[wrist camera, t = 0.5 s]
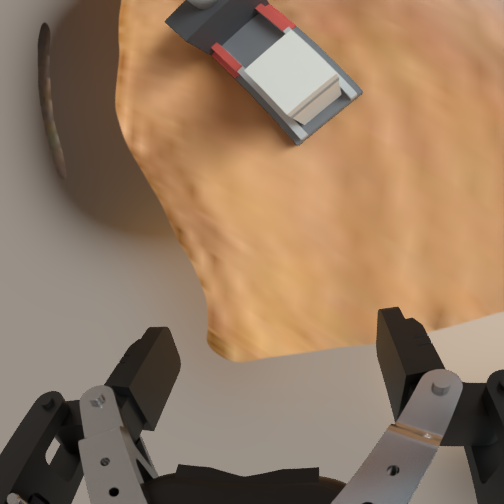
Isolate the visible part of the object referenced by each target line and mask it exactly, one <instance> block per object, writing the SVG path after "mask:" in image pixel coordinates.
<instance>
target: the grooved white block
mask: <svg viewBox="0 0 504 504" xmlns="http://www.w3.org/2000/svg"><path fill="white" fill-rule="evenodd" d="M244 71H245V72H246V73H247V74H248V75H249V76H250V77H251V78H252V79H253V80H254V81H255V82H256V83H257V84H258V85H259V86H260V87H261V88H262V89H263V90H264V91H265V92H266V93H267V94H268V95H269V96H270V97H271V99H272V100H273V101H274V102H275V103H276V104H277V105H278V106H279V107H280V108H281V109H282V110H283V111H284V112H285V113H286V115H288V116H289V117H290V118H292V119H295V120H297V121H298V122H300V123H302V124H303V125H305V124H307V123H308V122H309V121H310V120H311V119H313V118H314V117H315V116H316V115H317V114H319V113H320V112H321V111H322V110H324V109H325V108H326V107H327V106H328V105H330V104H331V103H332V102H333V101H335V100H336V99H337V98H338V97H339V96H341V95H342V94H341V89H340V85H339V77H338V75H337V73H336V72H335V71H334V70H333V69H332V68H331V67H330V66H329V65H328V64H327V63H326V62H325V61H324V60H323V59H322V58H321V57H320V56H319V55H318V54H317V53H316V52H315V51H314V50H313V49H312V48H311V47H310V46H309V45H308V44H306V43H305V42H304V41H303V40H302V39H301V38H300V37H299V36H298V35H297V34H295V33H294V32H293V31H292V30H290V31H289V32H288V33H286V34H285V35H284V36H283V37H282V38H280V39H279V40H278V41H277V42H276V43H274V44H273V45H272V46H271V47H270V48H269V49H267V50H266V51H265V52H264V53H263V54H262V55H260V56H259V57H258V58H257V59H256V60H255V61H254V62H253V63H251V64H250V65H249V66H248V67H247V68H246V69H245V70H244Z"/></svg>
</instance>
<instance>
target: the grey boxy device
mask: <svg viewBox="0 0 504 504" xmlns="http://www.w3.org/2000/svg"><path fill="white" fill-rule="evenodd" d="M165 23H166V24H167V25H169V26H170V27H171V28H172V29H173V30H174V31H175V32H176V33H178V34H179V35H180V36H181V37H182V38H183V39H184V40H185V41H186V42H188V43H190V44H192V45H194V46H196V47H197V48H199V49H201V50H203V51H204V52H206V53H208V54H210V55H211V56H212V57H213V58H214V59H215V60H216V61H217V62H219V63H220V64H221V65H222V66H223V67H224V68H225V69H226V70H227V71H228V72H229V73H230V74H231V75H232V76H233V77H234V78H235V79H236V80H237V81H238V82H239V83H240V84H241V85H242V86H243V87H244V88H245V89H246V90H247V91H248V92H249V93H250V94H251V95H252V96H253V97H254V98H255V99H256V101H257V102H258V103H259V104H260V105H261V106H262V107H263V108H264V109H265V110H266V111H267V112H268V113H269V114H270V116H271V117H272V118H273V119H274V120H275V121H276V122H277V123H278V124H279V125H280V127H281V128H282V129H283V130H284V131H285V132H286V133H287V134H288V135H289V137H290V138H291V139H292V140H293V141H294V142H295V143H296V145H300V144H302V143H303V142H304V141H305V140H306V139H308V138H309V137H310V136H311V135H312V134H313V133H315V132H316V131H317V130H318V129H320V128H321V127H322V126H323V125H324V124H326V123H327V122H328V121H329V120H330V119H332V118H333V117H334V116H335V115H337V114H338V113H339V112H340V111H342V110H343V109H344V108H345V107H347V106H348V105H349V104H350V103H352V102H353V101H354V100H355V99H357V98H358V97H359V96H360V95H362V93H363V91H362V90H361V89H360V87H359V86H358V85H357V84H356V83H355V82H354V81H353V80H352V79H351V78H350V77H349V76H348V75H347V74H346V73H345V72H344V71H343V70H342V69H341V67H340V66H339V65H338V64H337V63H336V62H335V61H334V60H333V59H331V58H330V57H329V56H328V55H327V54H326V53H325V52H324V51H323V50H322V49H321V48H320V47H319V46H318V45H317V44H316V43H315V42H314V41H312V40H311V39H310V38H309V37H308V36H307V35H306V34H305V33H304V32H302V31H301V30H300V29H299V28H298V27H297V26H296V25H295V24H294V23H292V22H291V21H290V20H289V19H288V18H286V17H285V16H284V15H283V14H282V13H280V12H279V11H278V10H277V9H275V8H274V7H273V6H272V5H270V4H269V3H268V1H267V0H185V1H184V2H183V3H182V4H181V5H180V6H179V7H178V8H177V9H176V10H175V11H174V12H173V13H172V14H171V15H170V16H169V17H168V18H167V19H166V21H165ZM290 30H292V31H293V32H294V33H295V34H297V35H298V36H299V37H300V38H301V39H302V40H303V41H304V42H305V43H306V44H308V45H309V46H310V47H311V48H312V49H313V50H314V51H315V52H316V53H317V54H318V55H319V56H320V57H321V58H322V59H323V60H324V61H325V62H326V63H327V64H328V65H329V66H330V67H331V68H332V69H333V70H334V71H335V72H336V73H337V75H338V77H339V85H340V89H341V94H342V95H341V96H339V97H338V98H337V99H336V100H335V101H333V102H332V103H331V104H330V105H328V106H327V107H326V108H325V109H324V110H322V111H321V112H320V113H319V114H317V115H316V116H315V117H314V118H313V119H311V120H310V121H309V122H308V123H307V124H305V125H303V124H302V123H300V122H298V121H297V120H295V119H292V118H290V117H289V116H288V115H286V113H285V112H284V111H283V110H282V109H281V108H280V107H279V106H278V105H277V104H276V103H275V102H274V101H273V100H272V99H271V97H270V96H269V95H268V94H267V93H266V92H265V91H264V90H263V89H262V88H261V87H260V86H259V85H258V84H257V83H256V82H255V81H254V80H253V79H252V78H251V77H250V76H249V75H248V74H247V73H246V72H245V71H244V70H245V69H246V68H247V67H248V66H249V65H250V64H251V63H253V62H254V61H255V60H256V59H257V58H258V57H259V56H260V55H262V54H263V53H264V52H265V51H266V50H267V49H269V48H270V47H271V46H272V45H273V44H274V43H276V42H277V41H278V40H279V39H280V38H282V37H283V36H284V35H285V34H286V33H288V32H289V31H290Z"/></svg>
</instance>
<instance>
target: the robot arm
mask: <svg viewBox="0 0 504 504" xmlns="http://www.w3.org/2000/svg"><path fill="white" fill-rule="evenodd" d="M376 348H377V357H378V361H379V364H380V368H381V371H382V374H383V378H384V382H385V385H386V389H387V392H388V396H389V400H390V404H391V408H392V411H393V415H394V419H395V424H391V425H390V426H389V427H388V428H387V429H386V431H385V432H384V434H383V435H382V437H381V438H380V440H379V441H378V443H377V444H376V446H375V447H374V449H373V450H372V451H371V453H370V454H369V456H368V457H367V458H366V460H365V461H364V463H363V464H362V465H361V467H360V468H359V469H358V471H357V472H356V473H355V475H354V476H353V477H352V478H351V480H350V481H349V482H348V483H347V484H346V483H344V482H341V481H338V480H336V479H331V478H327V477H321V476H319V467H317V468H302V469H282V470H278V471H273V472H268V473H263V474H258V475H253V476H247V477H243V476H238V475H234V474H231V473H227V472H223V471H220V470H217V469H214V468H210V467H199V466H190V465H181V464H179V465H178V467H177V470H176V473H173V474H167V475H163V476H160V477H159V476H158V474H157V472H156V470H155V468H154V465H153V463H152V461H151V458H150V456H149V454H148V451H147V449H146V447H145V444H144V441H143V439H142V437H141V436H140V433H141V431H142V430H149V431H154V430H155V427H156V425H157V422H158V420H159V418H160V415H161V413H162V411H163V408H164V406H165V404H166V402H167V399H168V397H169V395H170V392H171V390H172V387H173V385H174V383H175V381H176V379H177V376H178V374H179V371H180V367H181V363H180V357H179V354H178V351H177V348H176V346H175V343H174V340H173V337H172V334H171V332H170V330H169V328H168V327H149V328H148V329H147V330H146V332H145V334H144V335H143V336H142V338H141V339H138V340H137V341H136V342H135V343H133V344H132V345H131V346H130V347H129V348H128V350H127V351H126V353H125V354H124V357H122V359H121V360H120V363H119V364H118V365H117V366H116V368H115V369H114V371H113V372H112V374H111V375H110V377H109V378H108V380H107V382H106V383H105V384H104V385H101V386H96V387H93V388H91V389H89V390H87V391H86V392H85V393H84V394H83V395H82V397H81V399H80V400H74V401H65V399H64V398H63V396H62V395H61V394H60V393H59V392H56V391H51V392H47V393H45V394H43V395H41V396H40V397H39V398H38V399H37V400H36V401H35V403H34V404H33V406H32V407H31V409H30V410H29V412H28V413H27V415H26V416H25V417H24V419H23V420H22V422H21V423H20V425H19V426H18V428H17V430H16V431H15V433H14V434H13V436H12V437H11V439H10V440H9V442H8V443H7V445H6V446H5V448H4V450H3V451H2V453H1V454H0V504H71V503H72V501H73V499H74V496H75V494H76V492H77V489H78V487H79V485H80V482H81V480H82V478H83V476H85V481H86V486H87V490H88V494H89V498H90V502H91V504H408V503H409V501H410V499H411V498H412V496H413V495H414V493H415V491H416V489H417V488H418V486H419V484H420V482H421V480H422V479H423V477H424V475H425V473H426V471H427V470H428V468H429V466H430V464H431V462H432V460H433V458H434V456H435V454H436V452H437V450H438V448H439V446H464V449H465V452H466V456H467V459H468V463H469V467H470V471H471V475H472V480H473V484H474V488H475V493H476V498H477V502H478V504H504V370H498V371H495V372H494V373H492V374H491V375H490V376H489V378H488V380H487V383H465V382H462V381H461V379H460V378H459V376H458V375H457V374H455V373H453V372H452V371H449V370H446V369H445V367H444V365H443V363H442V361H441V359H440V357H439V355H438V354H437V352H436V350H435V348H434V346H433V344H432V343H431V340H430V338H429V336H427V333H426V331H425V329H424V327H423V325H422V324H420V323H419V322H418V321H416V320H415V319H414V318H409V319H405V318H404V316H403V314H402V312H401V310H400V308H399V307H392V308H385V309H379V310H378V320H377V340H376ZM54 437H55V438H56V440H57V441H58V442H59V443H60V446H59V448H58V450H57V452H56V454H55V456H54V458H53V459H52V461H51V463H50V465H48V463H47V462H46V459H45V454H46V451H47V449H48V447H49V446H50V444H51V442H52V440H53V439H54Z"/></svg>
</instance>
